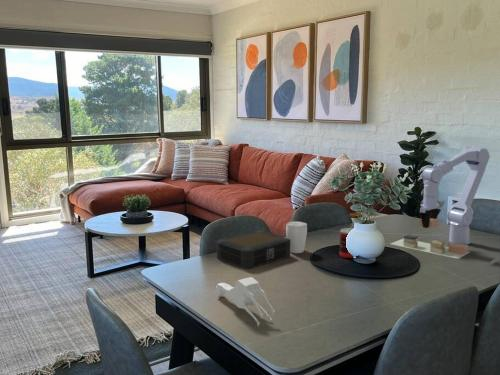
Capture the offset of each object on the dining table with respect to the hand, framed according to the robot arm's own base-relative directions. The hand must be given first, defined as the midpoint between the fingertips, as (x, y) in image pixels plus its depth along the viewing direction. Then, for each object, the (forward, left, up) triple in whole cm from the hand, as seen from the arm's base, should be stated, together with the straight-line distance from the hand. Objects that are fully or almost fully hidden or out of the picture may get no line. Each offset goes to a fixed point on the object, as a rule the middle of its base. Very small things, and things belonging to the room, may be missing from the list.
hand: (428, 226), depth 207 cm
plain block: (+6, +7, -9) cm, 12 cm away
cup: (+44, -38, -10) cm, 59 cm away
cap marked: (0, 0, 0) cm, 0 cm away
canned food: (+34, -18, -10) cm, 40 cm away
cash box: (+63, -46, -10) cm, 78 cm away
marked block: (+6, -5, -9) cm, 12 cm away
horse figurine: (+102, -12, -10) cm, 104 cm away
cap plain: (-1, +13, -9) cm, 16 cm away
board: (+3, +2, -10) cm, 10 cm away
